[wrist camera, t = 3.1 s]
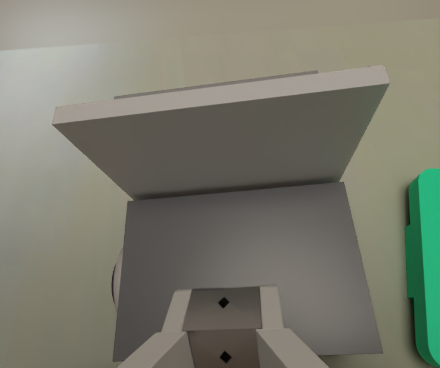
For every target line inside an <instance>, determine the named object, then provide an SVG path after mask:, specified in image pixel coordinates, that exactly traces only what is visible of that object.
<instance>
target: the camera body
mask: <svg viewBox="0 0 440 368" xmlns="http://www.w3.org/2000/svg"><path fill="white" fill-rule="evenodd" d="M272 284H277V285H278V289H279V296H280V303H281V310H282V317H283V324H284V328H290V329H291V330H292V331H293V332H294V333H295V334H296V335H297V336H298V337H299V338H300V339H301V340H302V341H303V342H304V343H305V344H306V345H307V346H308V347H309V348H310V349H311V350H312V351H313V352H314V353H315V354H316V355H348V354H381V353H383V351H382V346H381V342H380V338H379V333H378V329H377V324H376V320H375V316H374V311H373V307H372V303H371V298H370V294H369V289H368V285H367V281H366V276H365V272H364V268H363V263H362V259H361V255H360V250H359V246H358V241H357V237H356V233H355V228H354V224H353V220H352V215H351V211H350V206H349V202H348V198H347V193H346V189H345V185H344V182H337V183H326V184H315V185H304V186H293V187H282V188H270V189H259V190H248V191H237V192H226V193H215V194H203V195H192V196H181V197H170V198H159V199H148V200H136V201H128V203H127V214H126V225H125V235H124V246H123V249H122V250H121V252H120V254H119V257H118V260H117V263H116V265H115V267H114V271H113V276H112V296H113V300H114V303H115V307H116V310H117V321H116V332H115V343H114V353H113V362H118V361H125V360H126V359H127V358H128V357H129V356H130V355H131V354H132V353H134V352H135V351H136V350H137V349H138V348H139V347H140V346H141V345H143V344H144V343H145V342H146V341H147V340H148V339H149V338H150V337H152V336H153V335H154V334H155V333H158V332H161V331H162V328H163V325H164V322H165V319H166V316H167V313H168V310H169V307H170V303H171V300H172V297H173V294H174V292H175V291H176V290H177V289H195V288H231V287H249V286H260V285H272Z"/></svg>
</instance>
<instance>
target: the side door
mask: <svg viewBox="0 0 440 368" xmlns="http://www.w3.org/2000/svg"><path fill="white" fill-rule="evenodd" d="M389 84H390V82H389V79H388V76H387V73H386V70H385V68H384V65H380V66H373V67H365V68H357V69H349V70H341V71H333V72H326V73H318V71H309V72H301V73H294V74H286V75H278V76H270V77H263V78H255V79H247V80H239V81H231V82H224V83H216V84H208V85H200V86H193V87H185V88H177V89H169V90H162V91H154V92H146V93H138V94H131V95H123V96H115V97H114V100H107V101H99V102H91V103H83V104H75V105H67V106H60V107H56V108H55V112H54V117H53V121H52V125H53V126H54V127H55V128H56V129H57V130H59V131H60V132H61V133H62V134H63V135H64V136H65V137H66V138H67V139H68V140H69V141H70V142H72V143H73V144H74V145H75V146H76V147H77V148H78V149H79V150H80V151H81V152H82V153H83V154H85V155H86V156H87V157H88V158H89V159H90V160H91V161H92V162H93V163H94V164H95V165H96V166H98V167H99V168H100V169H101V170H102V171H103V172H104V173H105V174H106V175H107V176H108V177H109V178H111V179H112V180H113V181H114V182H115V183H116V184H117V185H118V186H119V187H120V188H121V189H122V190H124V191H125V192H126V193H127V194H128V195H129V196H130V197H131V198H132V199H133V200H134V201H136V200H148V199H159V198H170V197H181V196H192V195H203V194H215V193H226V192H237V191H248V190H259V189H270V188H282V187H293V186H304V185H315V184H326V183H337V182H339V181H340V179H341V177H342V175H343V173H344V171H345V169H346V167H347V165H348V163H349V161H350V159H351V157H352V156H353V154H354V152H355V150H356V148H357V146H358V144H359V142H360V140H361V138H362V136H363V134H364V132H365V130H366V129H367V127H368V125H369V123H370V121H371V119H372V117H373V115H374V113H375V111H376V109H377V107H378V105H379V103H380V101H381V100H382V98H383V96H384V94H385V92H386V90H387V88H388V86H389Z"/></svg>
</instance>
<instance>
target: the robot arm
mask: <svg viewBox="0 0 440 368" xmlns="http://www.w3.org/2000/svg"><path fill="white" fill-rule="evenodd" d="M117 368H329V367H328V366H327V365H326V364H325V363H324V362H323V361H322V360H321V359H320V358H319V357H318V356H317V355H316V354H315V353H314V352H313V351H312V350H311V349H310V348H309V347H308V346H307V345H306V344H305V343H304V342H303V341H302V340H301V339H300V338H299V337H298V336H297V335H296V334H295V333H294V332H293V331H292V330H291V329H290V328H284V324H283V317H282V310H281V303H280V296H279V289H278V285H277V284H272V285H260V286H249V287H231V288H195V289H177V290H176V291H175V292H174V294H173V297H172V300H171V303H170V307H169V310H168V313H167V316H166V319H165V322H164V325H163V328H162V331H161V332H158V333H155V334H154V335H153V336H152V337H150V338H149V339H148V340H147V341H146V342H145V343H144V344H143V345H141V346H140V347H139V348H138V349H137V350H136V351H135V352H134V353H132V354H131V355H130V356H129V357H128V358H127V359H126V360H125V361H123V362H122V363H121V364H120V365H119V366H118V367H117Z"/></svg>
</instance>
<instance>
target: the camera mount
mask: <svg viewBox="0 0 440 368" xmlns="http://www.w3.org/2000/svg"><path fill="white" fill-rule="evenodd" d="M409 208H410V225H408V226H407V227H405V248H406V273H407V297H408V298H413V299H414V316H415V337H416V347H417V350H418V352H419V354H420V356H421V357H422V358H423V359H424V360H425V361H426V362H427V363H428V364H430V365H432V366H434V367H437V368H440V169H427V170H425V171H423V172H422V173H421V174H420V175H419V176H418V177H417V178H416V179H415V180H414V181H412V182H411V184H410V186H409Z"/></svg>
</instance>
